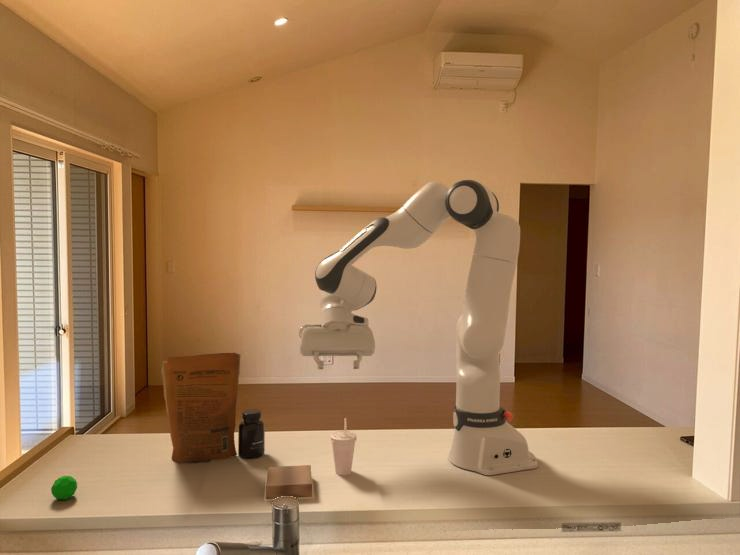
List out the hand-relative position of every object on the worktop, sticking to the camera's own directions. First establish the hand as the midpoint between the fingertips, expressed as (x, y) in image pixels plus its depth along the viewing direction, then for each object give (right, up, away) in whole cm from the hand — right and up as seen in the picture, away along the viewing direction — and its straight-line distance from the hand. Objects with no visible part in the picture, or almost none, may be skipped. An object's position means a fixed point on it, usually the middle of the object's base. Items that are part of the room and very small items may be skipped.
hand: (338, 368), depth 146 cm
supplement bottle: (-23, -23, 0) cm, 33 cm away
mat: (-11, -25, -19) cm, 33 cm away
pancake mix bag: (-35, -23, -2) cm, 42 cm away
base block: (-10, -24, -19) cm, 33 cm away
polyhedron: (-59, -25, -24) cm, 68 cm away
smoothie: (+2, -24, -10) cm, 27 cm away
